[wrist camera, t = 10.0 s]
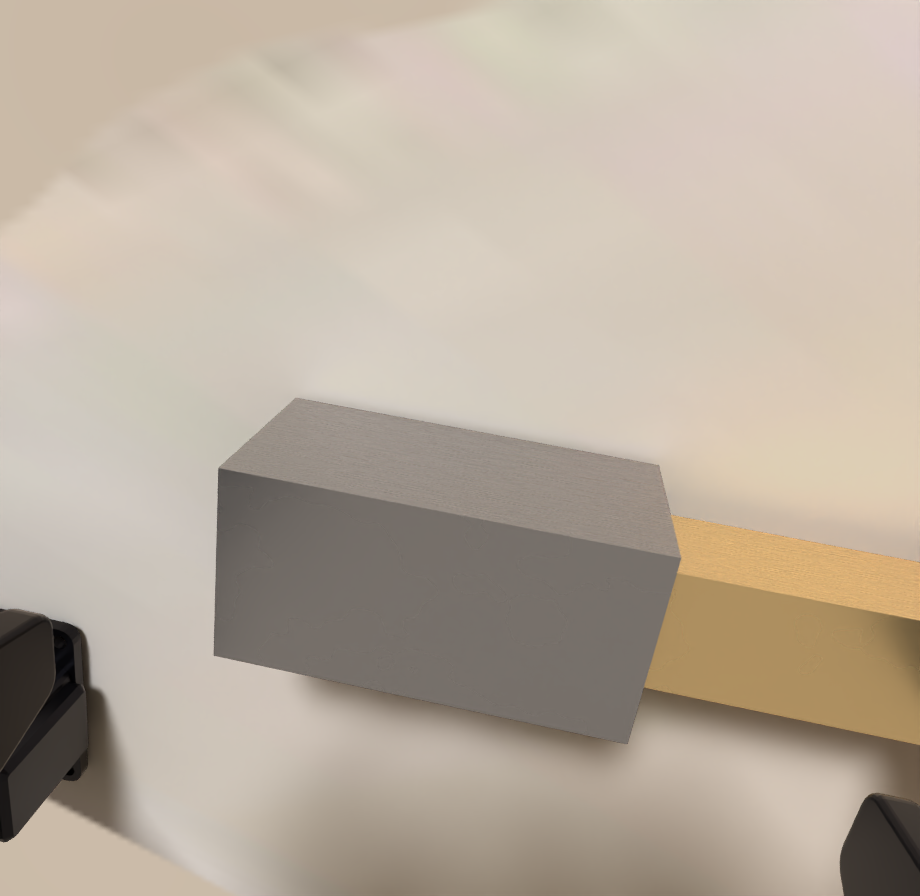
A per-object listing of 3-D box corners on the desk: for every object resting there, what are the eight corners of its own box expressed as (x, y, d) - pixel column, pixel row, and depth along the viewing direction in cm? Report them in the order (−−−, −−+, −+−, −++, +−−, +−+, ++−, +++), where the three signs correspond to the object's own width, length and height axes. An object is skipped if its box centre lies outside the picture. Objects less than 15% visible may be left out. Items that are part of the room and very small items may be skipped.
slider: (517, 592, 22) (478, 875, 13) (537, 489, 20) (509, 728, 12) (1081, 706, 20) (1424, 1093, 12) (1139, 604, 19) (1564, 956, 11)
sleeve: (285, 554, 23) (213, 655, 19) (295, 397, 21) (218, 467, 17) (617, 621, 23) (627, 744, 18) (658, 465, 21) (681, 557, 16)
